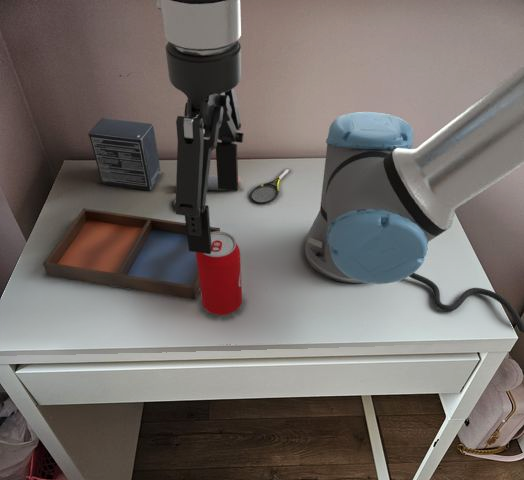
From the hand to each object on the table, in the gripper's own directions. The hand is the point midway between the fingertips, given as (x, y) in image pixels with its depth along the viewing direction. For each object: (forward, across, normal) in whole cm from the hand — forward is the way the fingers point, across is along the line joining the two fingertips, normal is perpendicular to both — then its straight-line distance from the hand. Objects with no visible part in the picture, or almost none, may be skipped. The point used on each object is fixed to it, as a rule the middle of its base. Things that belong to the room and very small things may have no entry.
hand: (215, 217), depth 68 cm
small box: (+17, -30, -26) cm, 43 cm away
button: (+16, -24, -13) cm, 32 cm away
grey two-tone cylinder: (+14, -31, -10) cm, 36 cm away
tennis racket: (+16, -34, -1) cm, 37 cm away
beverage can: (+16, 0, 0) cm, 17 cm away
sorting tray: (+16, -8, -17) cm, 25 cm away
